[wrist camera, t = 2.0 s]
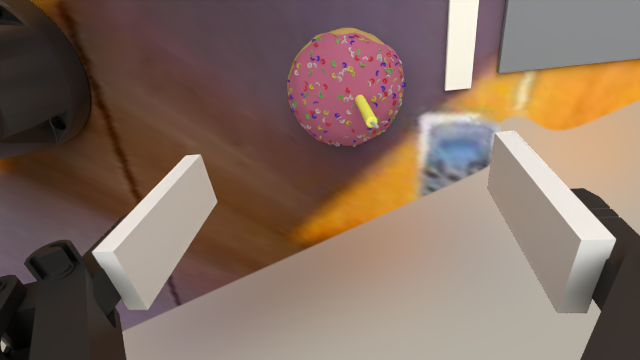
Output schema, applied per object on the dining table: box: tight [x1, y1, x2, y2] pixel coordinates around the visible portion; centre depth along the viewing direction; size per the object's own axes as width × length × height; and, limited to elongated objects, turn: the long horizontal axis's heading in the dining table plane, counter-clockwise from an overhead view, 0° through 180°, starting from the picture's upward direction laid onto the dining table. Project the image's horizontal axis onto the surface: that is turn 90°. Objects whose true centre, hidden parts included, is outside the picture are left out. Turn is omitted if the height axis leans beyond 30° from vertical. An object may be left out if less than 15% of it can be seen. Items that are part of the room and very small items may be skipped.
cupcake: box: [287, 28, 405, 147], centre depth 24 cm, size 9×8×12 cm
